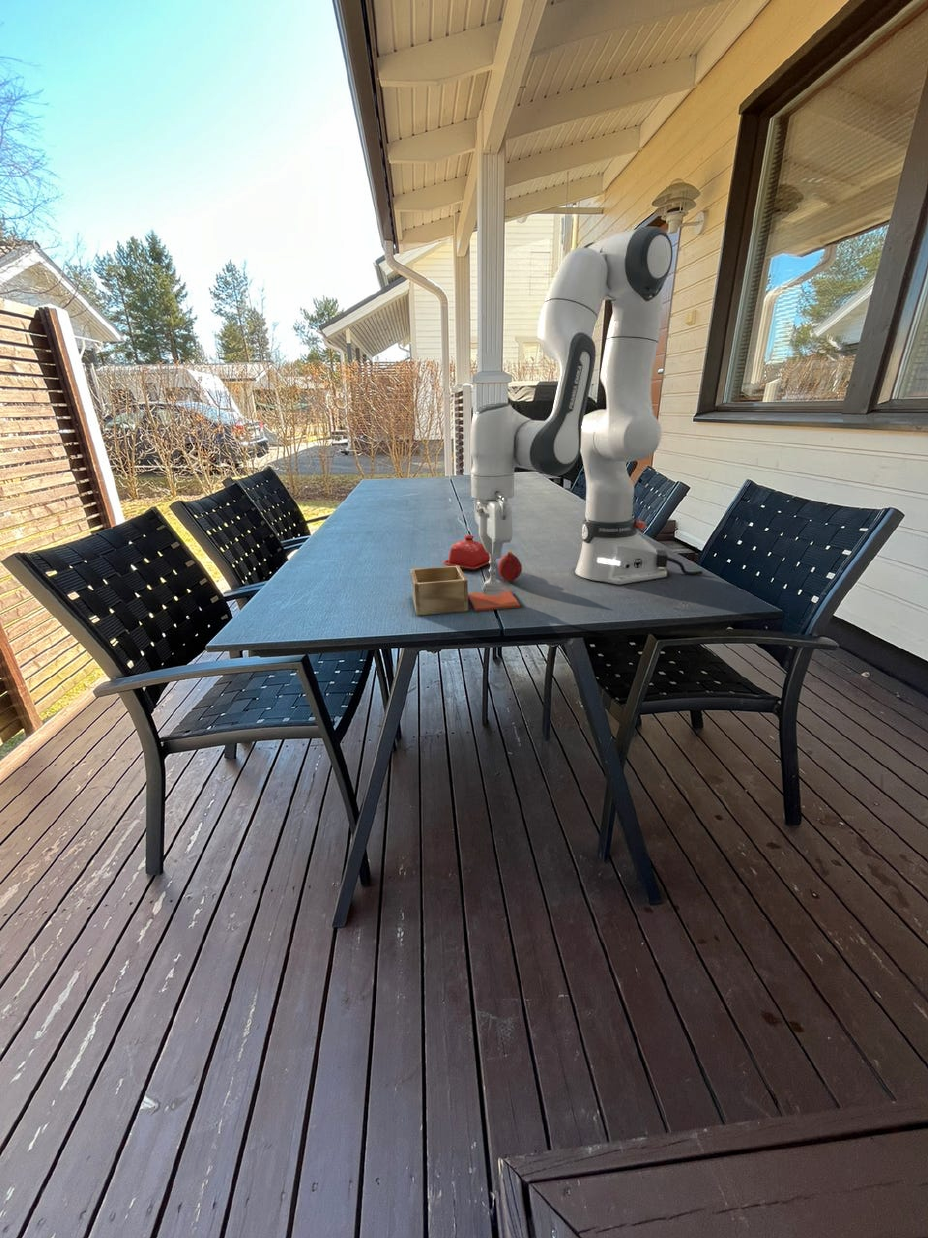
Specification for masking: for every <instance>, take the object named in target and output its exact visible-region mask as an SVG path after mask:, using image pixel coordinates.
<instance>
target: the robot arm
mask: <svg viewBox="0 0 928 1238" xmlns="http://www.w3.org/2000/svg"><path fill="white" fill-rule="evenodd" d="M673 253H674V251H673V244H672V241H671V239H670V236H669V235H668V233H667V231H666V230H665V229H664V228H662V227H658V226H651V225H650V226H649V225H648V226H641V227H639V228H638V229H629V230H624V231H620V232H615V233H613V234H611V235H610V236H607V237H604V238H602V239H600V240H598V241H594V242H590V243H588V244H586V245H584V246H583V247H576V248H573V249H572V250H569V251H568V252H567V253H566V254H565V255H564V257H563V258H562V260H561V262H560V264H559V266H558V267H557V269H556V272H555V274H554V275H553V278H552V281H551V283H550V285H549V288H548V291H547V294H546V296H545V300H544V303H543V306H542V309H541V313H540V316H539V319H538V325H537V333H536V338H537V341H538V344H539V346H540V349H541V350H542V351H543V353H544V354H545V355H546V356H547V357H548V358H550V359H551V360H553V361H555V362H556V363H557V364H558V368H559V378H558V383H557V386H556V392H555V397H554V402H553V407H552V410H551V413H550V415H549V416H548V418H547V419H546V420H537V419H536V420H535V419H532V418H530V417H527V416H525V415H523V414H522V413H520V412H518V411H517V410H516V409H514V408H513V406H512V404H511V403H508V402H496V403H490V404H486V405H483V406H480V407H478V408H477V409H476V410H475V411H474V413H473V415H472V418H471V422H470V423H471V424H470V435H469V436H470V439H469V441H470V442H469V444H470V447H469V448H470V449H469V450H470V456H471V459H472V460H471V461H472V466H471V470H470V482H469V490H470V498H472V501H473V502H472V504H473V513H474V520H475V523H476V525H477V526H479V515H478V513H477V511H476V510H477V509H480V508H482V509H483V512H482V513H488V514H489V516H488V517H487V535H488V536H489V537H490V538H491V539H492V543H493V544H492V549H491V552H492V554H491V555H492V557H493V558H494V559H496V560H501V559H502V551H503V547H504V544H507V543H511V542H512V540H513V513H512V512H513V511H512V506H511V504H510V503H509V502H508V501H509V499H513V498H514V497H515V496H514V495H515V469H516V468H519V469H525V470H528V471H535V472H539V473H542V474H545V475H548V476H550V477H559V476H562V475H565V474H566V473H567V472H569V471H570V470H571V469H572V468H573V467H574V466H575V464H576V462H577V460H578V459H579V457H580V456H581V460H582V464H583V469H584V475H585V476H584V477H585V484H586V487H585V488H586V489H585V490H586V492H585V493H586V494H585V511H584V512H585V513H584V517H583V518H582V519H583V520H582V527H581V541H582V543H581V549H580V553H579V557H578V562H577V565H576V567H575V570H574V573H575V574H576V575H577V576H579V577H580V578H583V579H586V580H591V581H594V582H595V581H597V582H603V583H608V584H612V585H613V584H614V585H626V584H632V583H638V582H644V581H649V580H655V579H662V578H666V577H667V576H668V571H667V569H666V568H667V566H668V562H671V563H673V564H676V565H678V566H679V568H680V570H681V572H682V573H683V574H685V575H687V576H697V575H703V570H695V571H688V570H687V569H686V568H685V565H684V564H683V563H682V562H681V561H679V560H678V559H675V558H671V557H669V556H668V553H667V551H666V550H664V549H661V550H660V549H656V548H655V547H654V546H653V545H652V544H651V543H649V541H647V540H646V539H645V538H644V537H642V536H641V535H640V534H639V533H638V530H640V531H644V530H645V529H646V527H647V523H646V522H644V521H642V520H636V519H635V518H632V517H633V508H634V507H633V506H634V496H635V486H634V482H633V480H632V478H630V475H629V472H628V469H627V464H626V463H631V462H636V461H637V462H638V461H641V460H645V459H647V458H649V457H651V456H652V455H653V454H654V453H655V452H656V450H657V449H658V447H659V446H660V443H661V440H662V427H661V424H660V421H659V420H658V419H657V417H656V415H655V412H654V408H653V401H652V379H653V372H654V367H655V360H656V355H657V350H658V345H659V340H660V334H661V328H662V319H663V294H662V292H661V291H662V290H663V287H664V285H665V282H666V280H667V279H668V277H669V273H670V271H671V267H672V262H673ZM604 301H610V302H611V307H612V314H611V317H610V321H609V325H608V329H607V334H606V340H605V345H604V352H603V357H602V362H601V370H600V375H599V376H600V377H599V378H600V382H601V384H602V385H603V387H604V391H605V399H606V408H605V409H597V410H593V411H591V412H589V413H587V414H585V413H586V408H587V403H588V398H589V394H590V390H591V386H592V380H593V375H594V370H595V364H596V357H597V354H596V353H597V350H596V344H595V342H594V335H595V329H596V326H597V324H598V323H597V322H598V320H599V317H600V313H601V310H602V305H603V302H604Z"/></svg>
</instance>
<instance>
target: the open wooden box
mask: <svg viewBox="0 0 928 1238" xmlns="http://www.w3.org/2000/svg"><path fill="white" fill-rule="evenodd" d="M410 583H411V584H410V586H411V596H412V597H411V598H412V603H413V608H414V610H415V615H416V616H428V615H439V614H451V613H460V612H461V613H463V612H468V611H469V598H468V593H469V589H468V588H469V587H468V584H469V583H468V578H467V577H466V575H465V574H464V572H463V569H462V568H460V567H459V565H458V566H450V565H445V566H433V567H419V568H418V567H417V568H410Z"/></svg>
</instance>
